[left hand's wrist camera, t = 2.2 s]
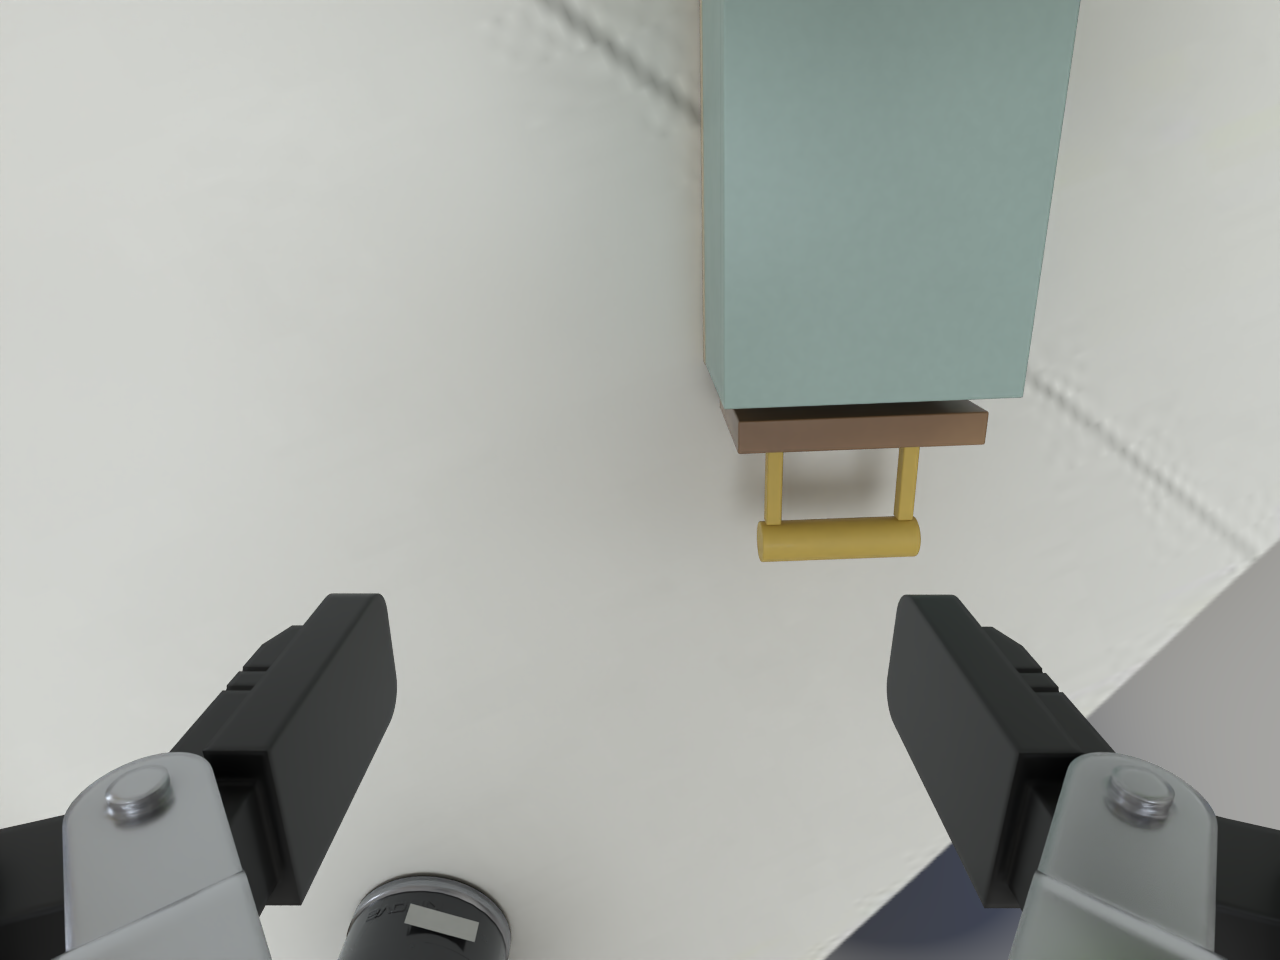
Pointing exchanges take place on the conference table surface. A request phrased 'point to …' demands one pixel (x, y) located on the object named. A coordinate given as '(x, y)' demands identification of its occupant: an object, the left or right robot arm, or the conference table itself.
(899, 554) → the drawer
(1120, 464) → the conference table surface
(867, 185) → the cabinet
